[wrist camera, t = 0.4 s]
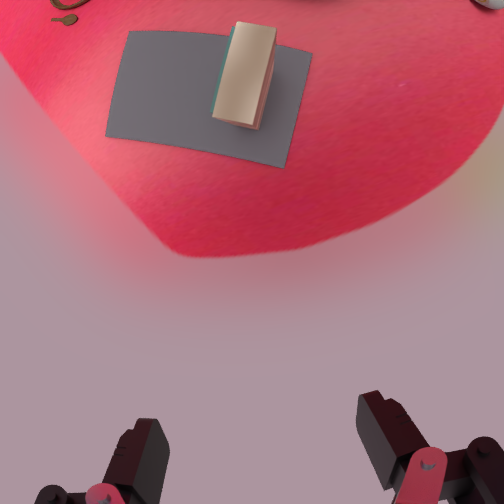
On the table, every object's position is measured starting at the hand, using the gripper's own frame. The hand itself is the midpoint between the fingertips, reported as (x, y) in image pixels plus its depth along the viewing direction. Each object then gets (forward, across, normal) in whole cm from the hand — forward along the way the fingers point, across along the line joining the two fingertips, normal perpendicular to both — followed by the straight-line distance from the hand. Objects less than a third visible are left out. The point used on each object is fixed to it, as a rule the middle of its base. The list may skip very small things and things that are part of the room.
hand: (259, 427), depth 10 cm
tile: (+23, -3, -19) cm, 30 cm away
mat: (+24, +2, -21) cm, 32 cm away
